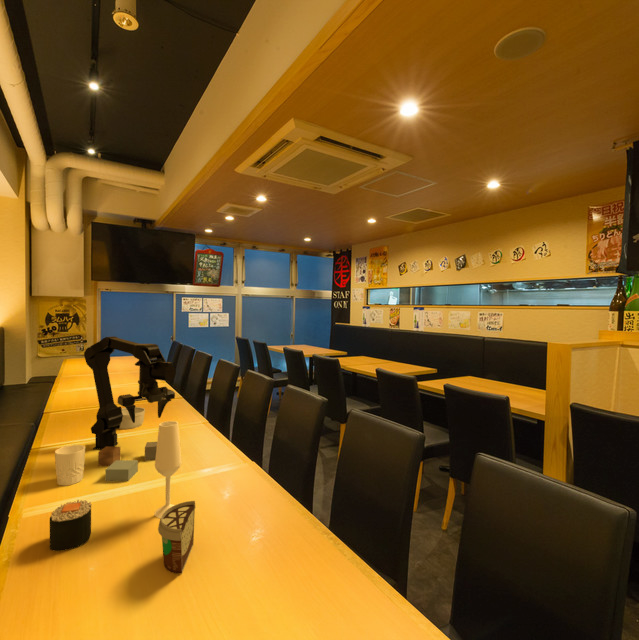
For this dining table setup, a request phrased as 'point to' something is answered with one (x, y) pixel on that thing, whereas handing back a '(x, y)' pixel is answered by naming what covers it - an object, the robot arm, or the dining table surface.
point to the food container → (177, 535)
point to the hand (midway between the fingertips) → (146, 420)
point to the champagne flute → (167, 457)
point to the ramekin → (127, 419)
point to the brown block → (150, 451)
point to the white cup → (69, 464)
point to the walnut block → (108, 456)
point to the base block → (121, 470)
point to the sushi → (70, 525)
